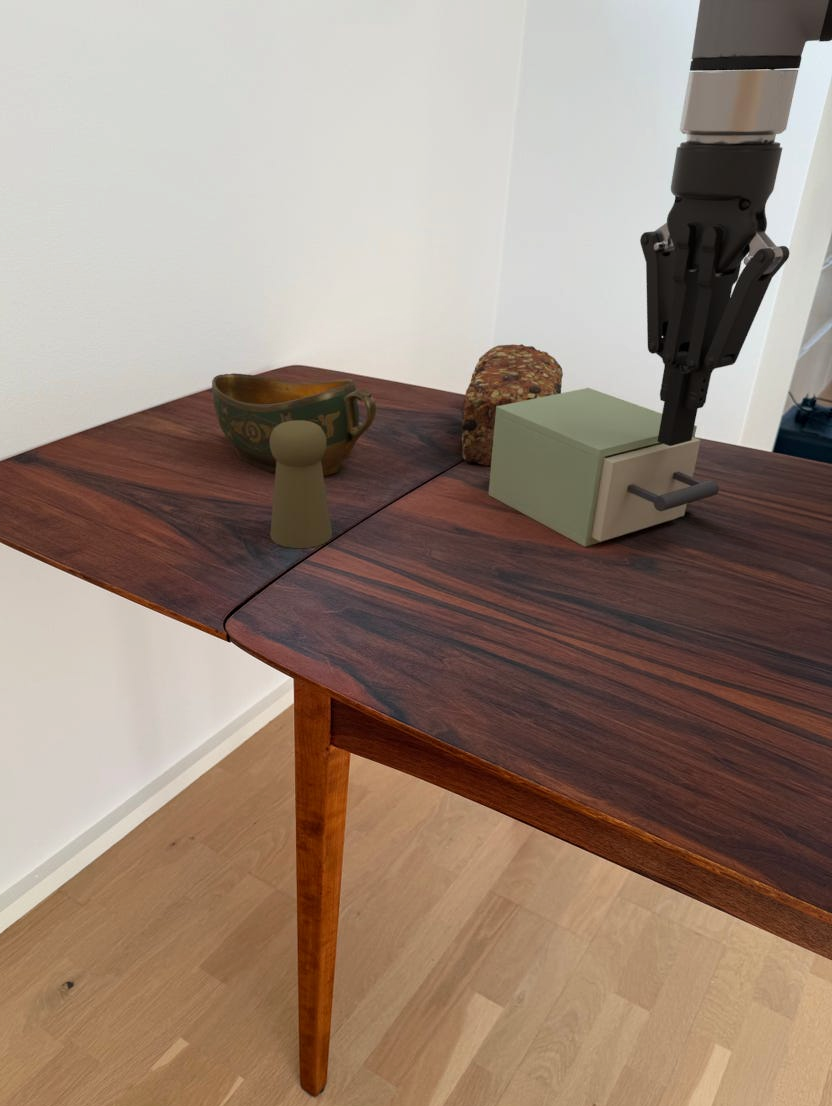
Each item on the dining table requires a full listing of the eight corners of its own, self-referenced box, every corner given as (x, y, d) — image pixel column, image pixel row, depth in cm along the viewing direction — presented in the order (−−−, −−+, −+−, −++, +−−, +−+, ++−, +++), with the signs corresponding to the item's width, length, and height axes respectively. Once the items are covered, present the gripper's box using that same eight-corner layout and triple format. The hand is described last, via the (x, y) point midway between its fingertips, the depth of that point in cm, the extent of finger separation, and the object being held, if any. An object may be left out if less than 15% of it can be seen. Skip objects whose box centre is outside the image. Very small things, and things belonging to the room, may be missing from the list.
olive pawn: (270, 522, 88) (264, 414, 82) (330, 520, 88) (329, 412, 82) (269, 549, 83) (263, 436, 77) (333, 547, 83) (332, 434, 77)
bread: (476, 415, 116) (482, 337, 111) (558, 422, 114) (569, 343, 109) (455, 465, 101) (461, 378, 96) (549, 474, 99) (560, 385, 93)
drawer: (723, 533, 84) (742, 455, 79) (637, 561, 79) (653, 479, 74) (587, 472, 97) (598, 402, 93) (507, 493, 92) (514, 420, 88)
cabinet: (677, 518, 89) (697, 425, 83) (584, 547, 83) (600, 449, 78) (576, 472, 99) (588, 387, 94) (488, 495, 94) (495, 406, 89)
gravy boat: (276, 503, 92) (271, 408, 86) (208, 445, 107) (200, 360, 101) (382, 481, 97) (384, 390, 92) (304, 428, 112) (301, 347, 106)
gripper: (840, 139, 63) (763, 454, 76) (696, 134, 73) (649, 414, 85) (772, 143, 60) (704, 471, 72) (630, 138, 70) (591, 428, 82)
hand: (674, 440), depth 79 cm, fingers closed
